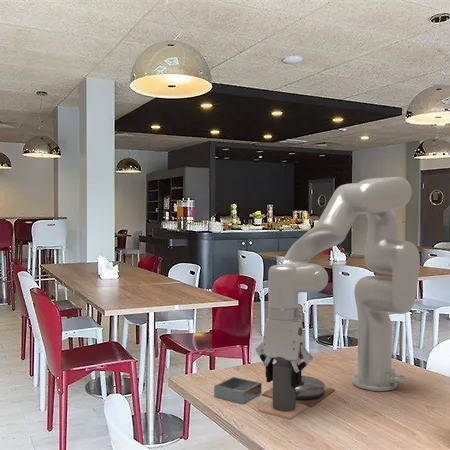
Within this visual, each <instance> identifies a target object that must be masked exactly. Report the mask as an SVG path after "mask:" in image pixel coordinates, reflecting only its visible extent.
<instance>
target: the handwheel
mask: <svg viewBox="0 0 450 450" xmlns="http://www.w3.org/2000/svg"><path fill="white" fill-rule="evenodd" d="M324 387H325V383H324V381H322V380H321V379H319V378H316V377H312V376H309V375H301V384H300V385H299V386H298V387H296V399H297V400H308V399H315V398H318V397H321V396H322V395H323V394H324Z"/></svg>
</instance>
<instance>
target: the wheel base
mask: <svg viewBox="0 0 450 450" xmlns="http://www.w3.org/2000/svg"><path fill="white" fill-rule="evenodd" d="M335 391H336V389H335V388H330V387H325V386H324V394H323V395H322V396H321V397H318V398H315V399H308V400H297V399H296V403H299V404H303V405H307V407H308V408H309V407H310V408H313V407H314V406H316V405H318V404H319V403H320V402H321V401H323V400H324V399H326V398H327V397H328V396H330V395H331V394H332V393H334V392H335ZM261 396H263V397H266V398H270V399H273V387H271V388H269V389H267V391H265V392H262V394H261Z"/></svg>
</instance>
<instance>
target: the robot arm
mask: <svg viewBox="0 0 450 450" xmlns="http://www.w3.org/2000/svg"><path fill="white" fill-rule="evenodd" d="M409 182H410V181H408V180H407V179H406V178H403V177H401V176H390V177H375V178H366V179H362V180H361V181H359V182H354V183H345V184H341V185H339V186H338V187H337V188H336V189H335V190H334V192H333V194H332V196H331V198H330V199H329V200H328V203H326V204H327V205H326V207H325V208H324V210H323V212H322V213H321V215H320V217H319V218H318V220H317V223H316V224H315V225H314V226H313V227H312V228H310V229H309V230H308V231H307V232H305V233H304V234H303V235H302V236H301V237H299V239H297V240H296V241H295V242H294V243H293V244H292V245H291V246H290V248H289V249H288V250H287V252H286V254H285V256H284V258H283V259H282V261H281V264H275V265H272V266H270V267H269V269H268V276H267V277H268V279H267V281H268V282H267V286H268V289H267V292H268V315H267V316H268V317H267V318H266V320H265V324H264V329H263V337H262V338H263V339H262V342H261V343H260V344H259V345H258V346H256V347H255V353H257V355H258V356H259V359H260V360H261V361H262V362H263V366H264V367H265V378H266V383H271V382H273V365H274V364H275V363H274V361H275V359H274V358H276V357H281V358H285V359H286V360H288V361H291V363H292V366H293V368H294V372H292V387H293V388H296V387H298V386H299V385H300V384H301V376H302V371H303V370H304V369H305V368H306V367H307V366H308V365H309V364H310V363H311V361H312V360H313V359H314V357H313V355H312V354H311V353H310V352H309V351H308V350H307V349H306V341H305V333H304V327H303V322H302V319H300V318H301V317H303V311H301V310H300V308H299V293H306V294H307V293H309V294H315V293H319V292H321V291H323V290H324V289H325V288H326V286H327V285H328V283H329V275H328V272H327V270H326V269H325V268H324V267H323V266H321V265H320V264H318V263H317V264H316V263H312V262H311V263H309V261H310V260H311V259H312V258H313V257H314V256H315V255H316V256H317V254H319V253H321V252H322V251H325V250H327V249H328V250H329V249H330V248H333V247H335V246H338V245H339V244H341V243H342V242H344V240H345V239H346V238H347V235H348V233H349V231H350V229H351V227H352V226H353V224H354V222H355V221H356V219H357V217H358V216H359V215H366V218H367V223H368V224H367V234H366V241H365V242H366V243H365V251H364V264H365V266H366V267H367V269H369V270H371V271H373V272H378V273H379V272H380V273H387V274H391V275H392V276H391V277H386V276H378V275H367V276H363V277H360V279H359V280H357V282H356V284H355V286H354V292H353V293H354V300H355V304H356V311H357V374H356V375H354V376H352V379H351V381H352V384H353V385H354V386H355V387H357V388H360V389H363V390H367V391H373V392H388V391H393V390H395V389H396V388H397V387H398V384H399V385H404V386H406V385H407V381H408V380H407V377H405V376H404V375H399V374H397V373H396V371H395V368H393V367H392V366H393V365H392V364H393V363H392V361H393V360H392V359H393V352H392V351H393V350H392V349H393V347H392V346H393V342H392V341H393V325H392V324H393V323H392V320H391V319H392V318H391V317H390V315H389V313H393V314H397V315H398V314H399V315H403V314H407V313H409V312H410V311H411V310H412V309H413V307H414V305H415V303H416V302H415V301H416V297H417V291H418V290H417V289H418V282H419V276H420V275H419V274H420V269H421V268H420V266H421V265H420V264H421V260H420V259H421V257H420V251H419V249H418V248H417V246H416V245H415V244H414V243H413V242H411V241H408V240H402V239H401V240H400V239H398V237H399V235H398V234H399V233H398V232H399V220H398V218H397V216H396V213H395V212H394V211H393V210H396V209H399V208H403V207H404V206H406V205H407V204H408V203H409V201H410V200H411V198H412V186H411V184H410V183H409ZM302 357H303V358H304V359H303V358H302ZM300 358H301V359H303V360H301V359H300Z"/></svg>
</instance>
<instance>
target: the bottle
mask: <svg viewBox="0 0 450 450" xmlns="http://www.w3.org/2000/svg"><path fill="white" fill-rule="evenodd" d="M274 361H275V363H273V364H274V365H273V380H272V388H273V398H272V400H273V408H274V409H276V410H279V411H291V410H294V409H295V407H296V388H293V387H292V372H294V368H293V366H292V363H291V361H288V360H286V359H285V358H281V357H276V358H274Z"/></svg>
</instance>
